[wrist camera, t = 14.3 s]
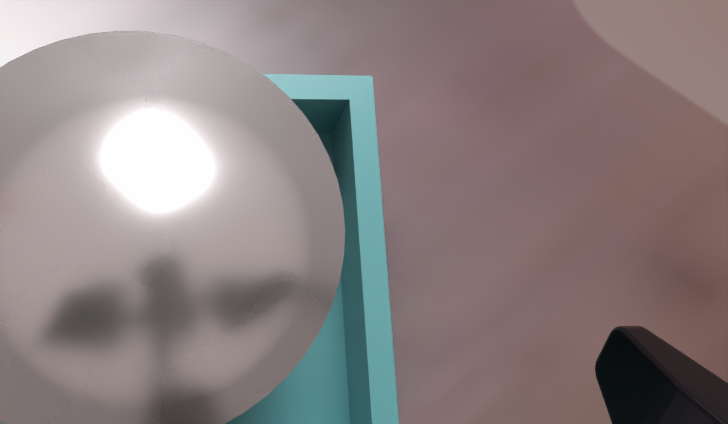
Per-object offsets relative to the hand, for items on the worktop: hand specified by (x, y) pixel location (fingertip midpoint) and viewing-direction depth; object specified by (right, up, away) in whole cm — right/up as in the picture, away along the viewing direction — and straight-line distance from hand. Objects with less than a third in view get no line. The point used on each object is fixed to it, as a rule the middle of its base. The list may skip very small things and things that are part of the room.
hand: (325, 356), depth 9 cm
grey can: (-5, 0, +12) cm, 13 cm away
